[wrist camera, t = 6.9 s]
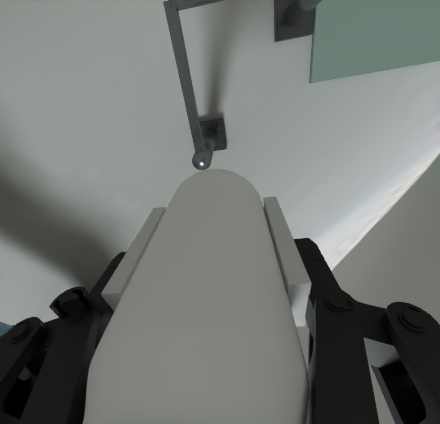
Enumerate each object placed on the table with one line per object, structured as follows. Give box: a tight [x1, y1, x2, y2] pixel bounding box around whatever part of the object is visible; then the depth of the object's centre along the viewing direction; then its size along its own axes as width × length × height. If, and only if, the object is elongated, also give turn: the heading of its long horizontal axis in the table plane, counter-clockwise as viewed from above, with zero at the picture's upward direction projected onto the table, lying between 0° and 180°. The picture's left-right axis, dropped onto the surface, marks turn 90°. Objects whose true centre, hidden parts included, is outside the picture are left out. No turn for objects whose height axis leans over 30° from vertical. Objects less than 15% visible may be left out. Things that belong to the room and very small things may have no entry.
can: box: [83, 169, 310, 424], centre depth 10 cm, size 6×6×12 cm
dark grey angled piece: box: [163, 0, 322, 170], centre depth 19 cm, size 14×14×10 cm
